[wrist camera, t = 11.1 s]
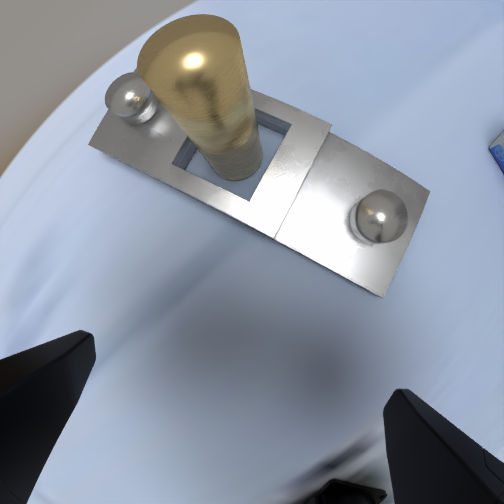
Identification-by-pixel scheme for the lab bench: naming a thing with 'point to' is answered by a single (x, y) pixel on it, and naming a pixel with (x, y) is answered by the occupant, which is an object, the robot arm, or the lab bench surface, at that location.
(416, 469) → the robot arm
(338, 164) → the metal bracket
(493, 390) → the lab bench surface
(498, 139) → the medicine box
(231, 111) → the brass pin
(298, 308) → the lab bench surface
